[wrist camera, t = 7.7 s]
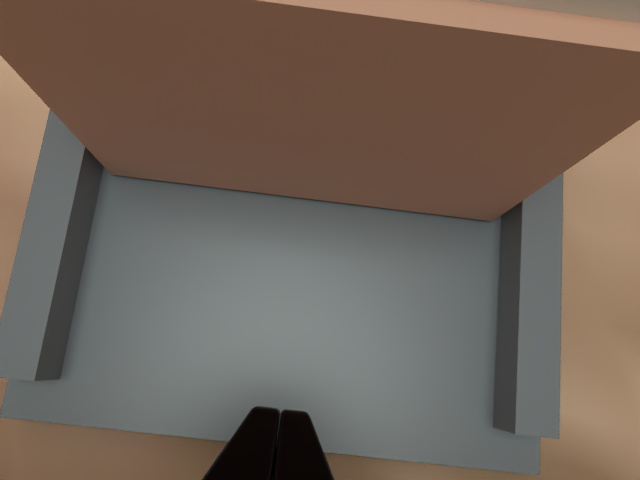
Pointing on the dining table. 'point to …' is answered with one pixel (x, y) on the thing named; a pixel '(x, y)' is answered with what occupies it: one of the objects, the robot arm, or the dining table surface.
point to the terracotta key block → (337, 92)
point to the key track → (283, 315)
